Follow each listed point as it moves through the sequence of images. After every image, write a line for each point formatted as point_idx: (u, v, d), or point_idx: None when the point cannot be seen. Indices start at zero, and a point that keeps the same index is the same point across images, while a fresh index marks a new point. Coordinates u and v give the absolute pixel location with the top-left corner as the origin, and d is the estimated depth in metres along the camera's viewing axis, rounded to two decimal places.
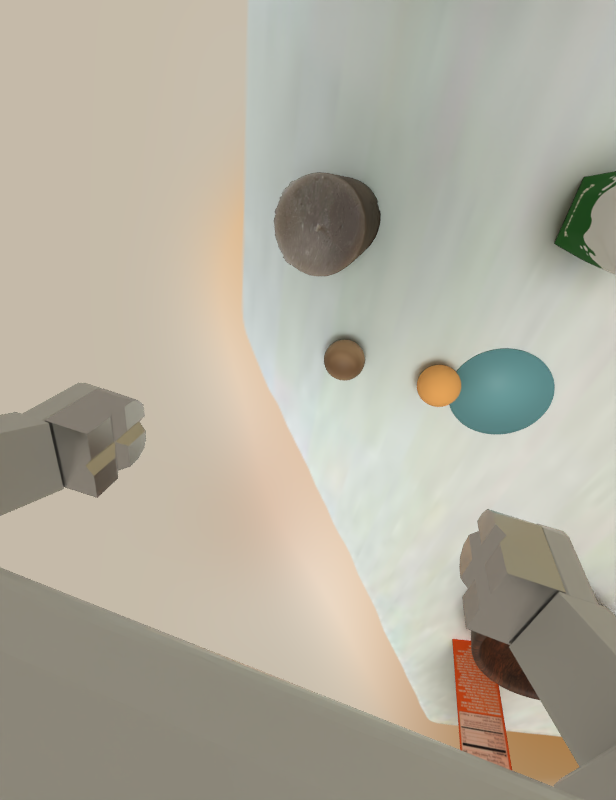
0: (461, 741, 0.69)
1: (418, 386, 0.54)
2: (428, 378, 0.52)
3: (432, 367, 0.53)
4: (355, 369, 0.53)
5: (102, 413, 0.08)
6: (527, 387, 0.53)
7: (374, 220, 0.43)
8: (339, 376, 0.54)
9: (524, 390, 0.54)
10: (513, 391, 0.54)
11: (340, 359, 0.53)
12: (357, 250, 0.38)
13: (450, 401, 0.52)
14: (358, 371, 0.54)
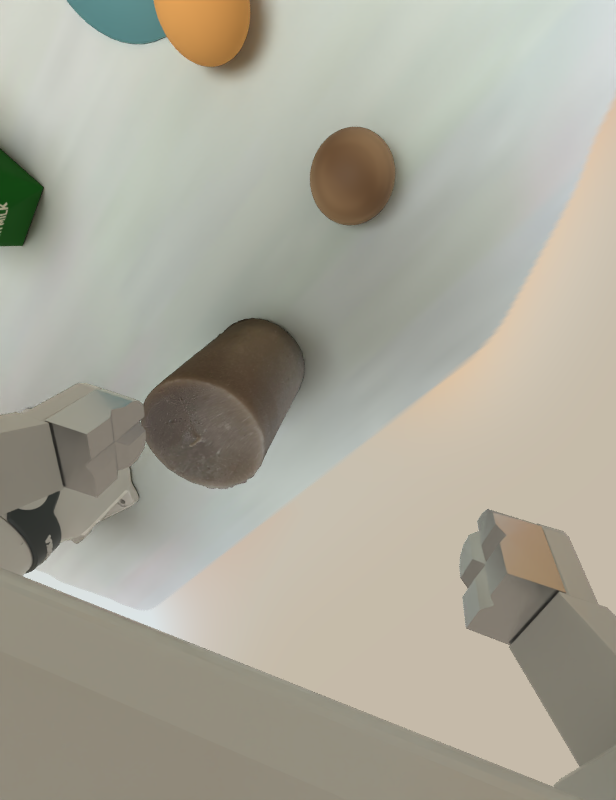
0: None
1: (234, 28, 0.23)
2: (202, 44, 0.24)
3: (203, 64, 0.26)
4: (327, 151, 0.24)
5: (102, 413, 0.08)
6: None
7: None
8: (363, 156, 0.24)
9: None
10: None
11: (338, 196, 0.25)
12: (161, 387, 0.26)
13: None
14: (328, 142, 0.25)
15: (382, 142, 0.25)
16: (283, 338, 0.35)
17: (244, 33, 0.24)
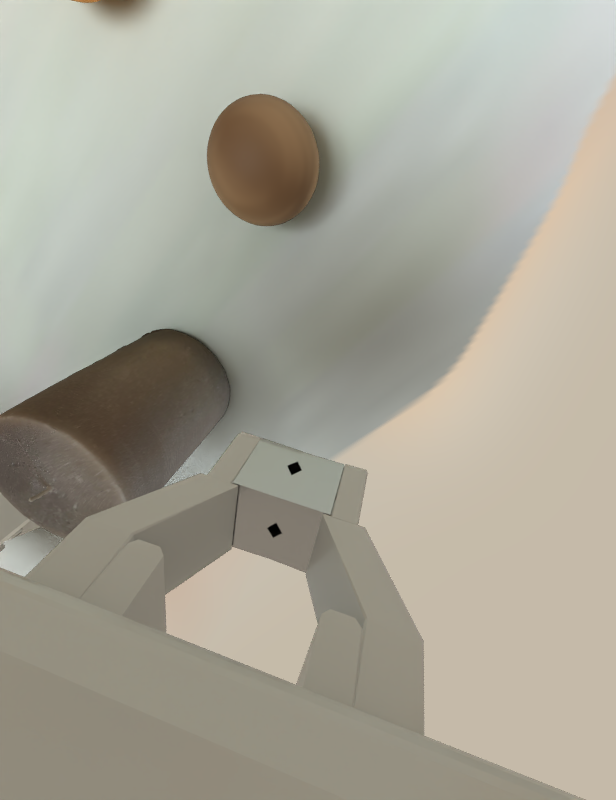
0: None
1: None
2: None
3: None
4: (219, 125, 0.18)
5: (281, 470, 0.07)
6: None
7: None
8: (263, 135, 0.17)
9: None
10: None
11: (234, 186, 0.19)
12: None
13: None
14: (223, 112, 0.18)
15: (295, 117, 0.18)
16: (198, 357, 0.29)
17: None
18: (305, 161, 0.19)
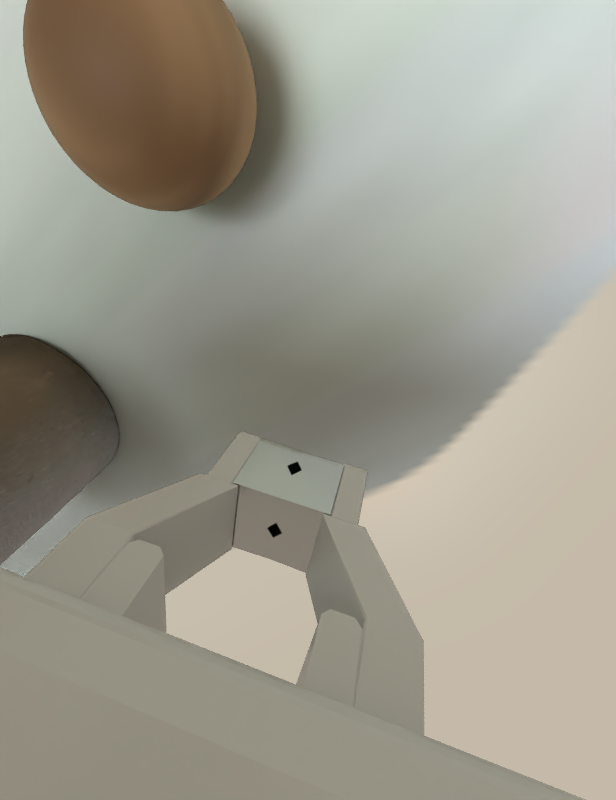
0: None
1: None
2: None
3: None
4: None
5: (281, 470, 0.07)
6: None
7: None
8: (122, 14, 0.08)
9: None
10: None
11: (67, 121, 0.09)
12: None
13: None
14: None
15: None
16: (62, 389, 0.19)
17: None
18: (218, 97, 0.09)
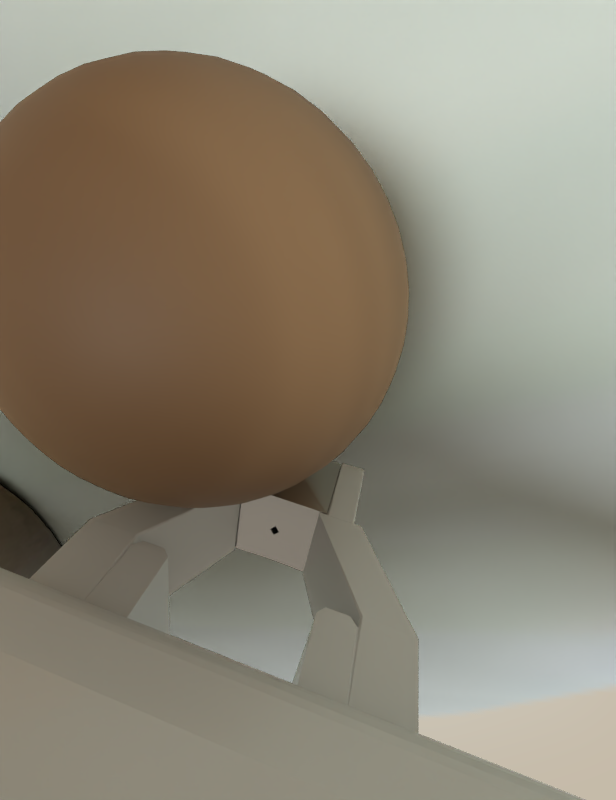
0: None
1: None
2: None
3: None
4: (22, 113, 0.03)
5: None
6: None
7: None
8: (209, 307, 0.03)
9: None
10: None
11: (4, 404, 0.04)
12: None
13: None
14: (86, 66, 0.04)
15: (389, 270, 0.04)
16: (0, 554, 0.14)
17: None
18: (345, 433, 0.05)
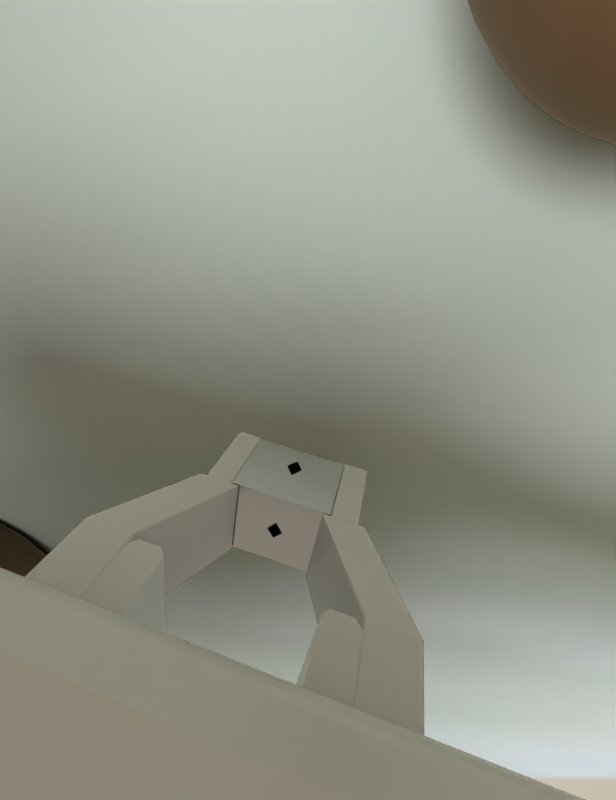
0: None
1: None
2: None
3: None
4: None
5: (281, 470, 0.07)
6: None
7: None
8: None
9: None
10: None
11: None
12: None
13: None
14: (520, 48, 0.03)
15: None
16: None
17: None
18: None
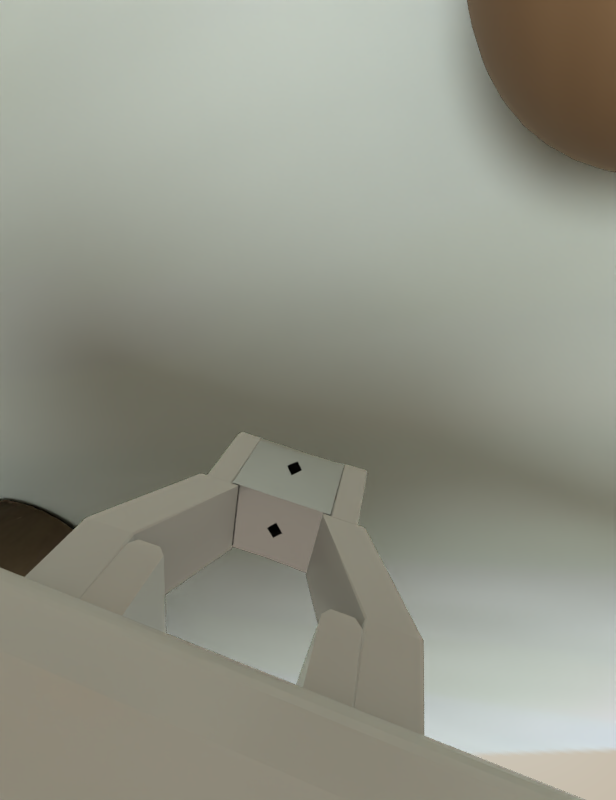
0: None
1: None
2: None
3: None
4: (485, 46, 0.04)
5: (281, 470, 0.07)
6: None
7: None
8: None
9: None
10: None
11: None
12: None
13: None
14: (524, 101, 0.04)
15: None
16: None
17: None
18: None
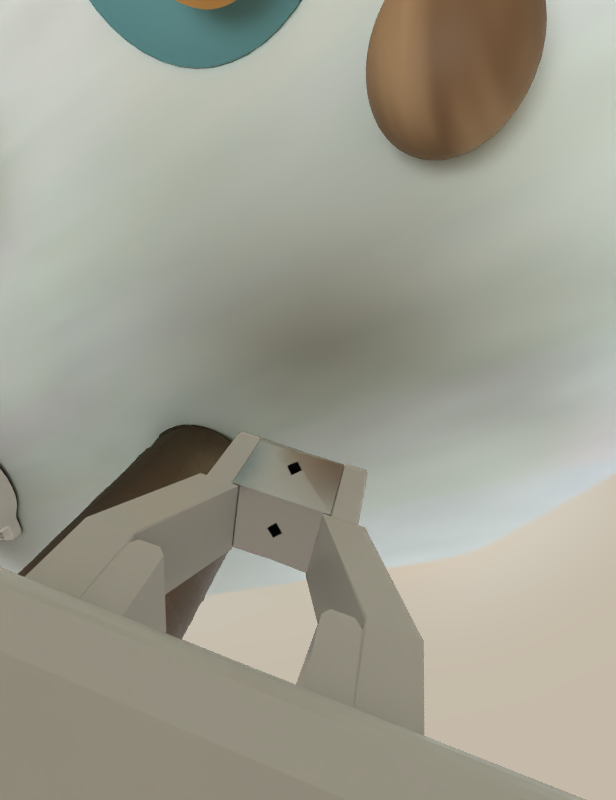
0: None
1: None
2: None
3: None
4: None
5: (281, 471, 0.07)
6: None
7: (115, 480, 0.26)
8: None
9: None
10: None
11: None
12: None
13: None
14: (399, 148, 0.15)
15: None
16: None
17: None
18: None
